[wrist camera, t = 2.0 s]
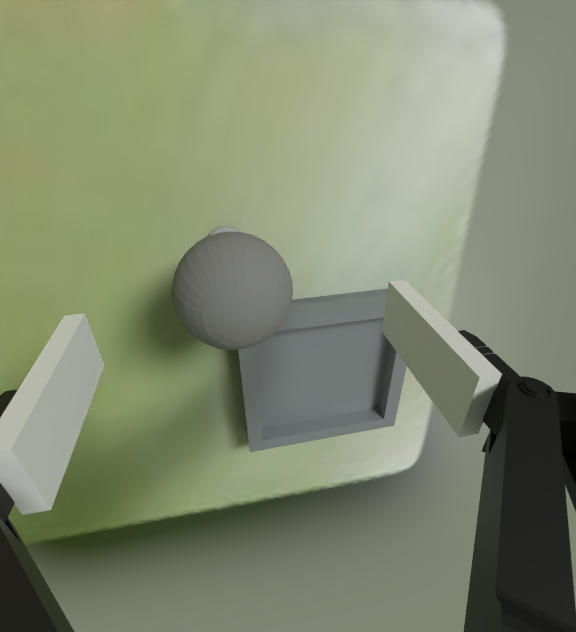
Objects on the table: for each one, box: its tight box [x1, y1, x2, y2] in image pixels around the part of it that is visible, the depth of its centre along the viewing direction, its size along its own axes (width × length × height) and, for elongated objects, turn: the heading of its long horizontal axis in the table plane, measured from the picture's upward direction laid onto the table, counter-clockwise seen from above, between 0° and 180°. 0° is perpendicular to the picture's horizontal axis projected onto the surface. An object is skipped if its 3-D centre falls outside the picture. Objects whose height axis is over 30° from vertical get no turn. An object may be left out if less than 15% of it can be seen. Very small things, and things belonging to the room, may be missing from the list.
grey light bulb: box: [172, 226, 293, 350], centre depth 20 cm, size 6×6×10 cm
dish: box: [238, 289, 407, 452], centre depth 31 cm, size 14×14×2 cm
